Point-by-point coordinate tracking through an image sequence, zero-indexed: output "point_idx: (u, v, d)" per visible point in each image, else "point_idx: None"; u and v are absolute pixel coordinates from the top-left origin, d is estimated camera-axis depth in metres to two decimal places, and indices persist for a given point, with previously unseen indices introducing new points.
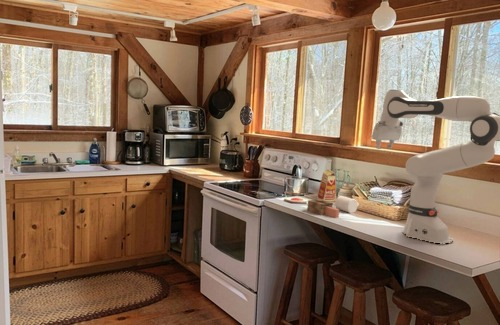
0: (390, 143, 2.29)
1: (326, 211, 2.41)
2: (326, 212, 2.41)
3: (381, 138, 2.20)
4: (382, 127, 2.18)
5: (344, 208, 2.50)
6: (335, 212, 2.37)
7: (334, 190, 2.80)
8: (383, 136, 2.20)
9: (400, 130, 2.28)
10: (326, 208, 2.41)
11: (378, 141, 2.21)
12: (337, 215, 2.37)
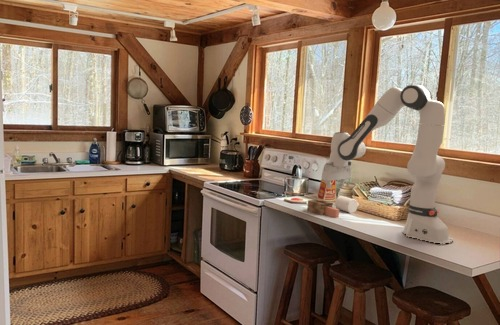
0: (341, 182, 2.41)
1: (326, 211, 2.41)
2: (326, 212, 2.41)
3: (330, 178, 2.31)
4: (330, 168, 2.30)
5: (344, 208, 2.50)
6: (335, 212, 2.37)
7: (334, 190, 2.80)
8: (332, 177, 2.32)
9: (350, 169, 2.40)
10: (326, 208, 2.41)
11: (328, 181, 2.33)
12: (337, 215, 2.37)
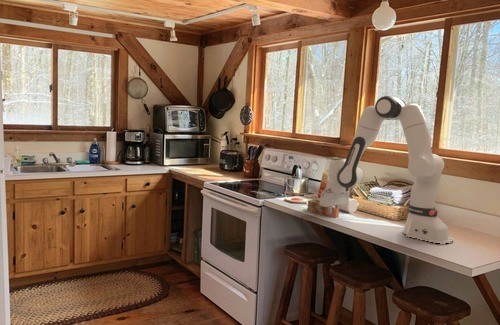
0: None
1: (326, 211, 2.41)
2: (326, 212, 2.41)
3: (328, 204, 2.33)
4: (328, 194, 2.32)
5: (344, 208, 2.50)
6: (335, 212, 2.37)
7: None
8: (330, 203, 2.33)
9: (347, 194, 2.42)
10: (326, 208, 2.41)
11: (329, 207, 2.36)
12: (337, 215, 2.37)
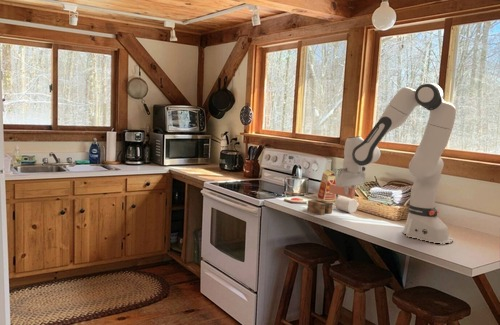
0: None
1: (341, 191, 2.33)
2: (341, 192, 2.33)
3: (345, 184, 2.24)
4: (344, 174, 2.23)
5: (344, 208, 2.50)
6: (351, 191, 2.28)
7: None
8: (346, 183, 2.25)
9: (364, 174, 2.33)
10: (341, 188, 2.33)
11: (346, 187, 2.28)
12: (353, 194, 2.29)
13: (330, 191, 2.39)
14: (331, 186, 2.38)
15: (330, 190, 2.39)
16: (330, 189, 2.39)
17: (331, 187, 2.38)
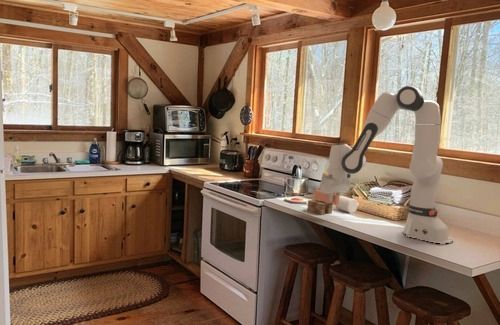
0: None
1: (326, 197, 2.32)
2: (326, 198, 2.32)
3: (329, 191, 2.23)
4: (329, 181, 2.22)
5: (344, 208, 2.50)
6: (335, 198, 2.27)
7: None
8: (330, 190, 2.24)
9: (349, 181, 2.32)
10: (326, 194, 2.32)
11: (330, 194, 2.26)
12: (337, 201, 2.28)
13: (315, 197, 2.38)
14: (316, 192, 2.37)
15: (315, 196, 2.38)
16: (315, 195, 2.38)
17: (316, 193, 2.37)
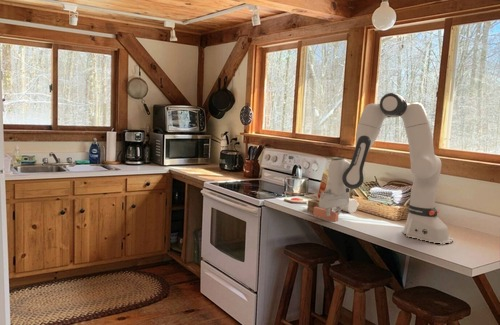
0: (338, 209, 2.33)
1: (325, 215, 2.33)
2: (325, 216, 2.33)
3: (328, 206, 2.24)
4: (327, 196, 2.23)
5: (344, 208, 2.50)
6: (334, 216, 2.28)
7: None
8: (329, 204, 2.25)
9: (348, 196, 2.33)
10: (325, 211, 2.33)
11: (327, 209, 2.26)
12: (336, 219, 2.29)
13: (314, 214, 2.39)
14: (315, 209, 2.38)
15: (314, 213, 2.39)
16: (314, 212, 2.39)
17: (315, 210, 2.38)
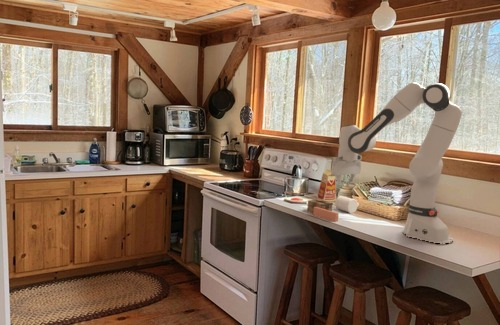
0: (351, 177, 2.32)
1: (325, 215, 2.33)
2: (325, 216, 2.33)
3: (340, 173, 2.23)
4: (340, 162, 2.22)
5: (344, 208, 2.50)
6: (334, 216, 2.28)
7: (334, 190, 2.80)
8: (342, 171, 2.24)
9: (359, 163, 2.32)
10: (325, 211, 2.33)
11: (338, 176, 2.24)
12: (336, 219, 2.29)
13: (314, 214, 2.39)
14: (315, 209, 2.38)
15: (314, 213, 2.39)
16: (314, 212, 2.39)
17: (315, 210, 2.38)
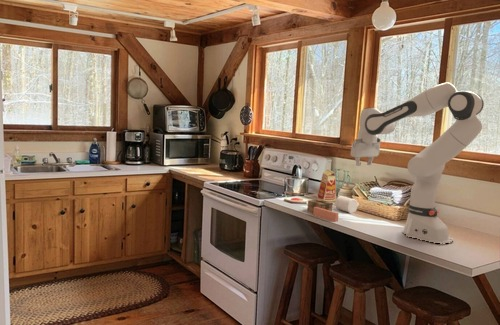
0: (370, 160, 2.35)
1: (325, 215, 2.33)
2: (325, 216, 2.33)
3: (360, 155, 2.25)
4: (359, 144, 2.24)
5: (344, 208, 2.50)
6: (334, 216, 2.28)
7: (334, 190, 2.80)
8: (361, 153, 2.26)
9: (378, 146, 2.34)
10: (325, 211, 2.33)
11: (357, 158, 2.27)
12: (336, 219, 2.29)
13: (314, 214, 2.39)
14: (315, 209, 2.38)
15: (314, 213, 2.39)
16: (314, 212, 2.39)
17: (315, 210, 2.38)
